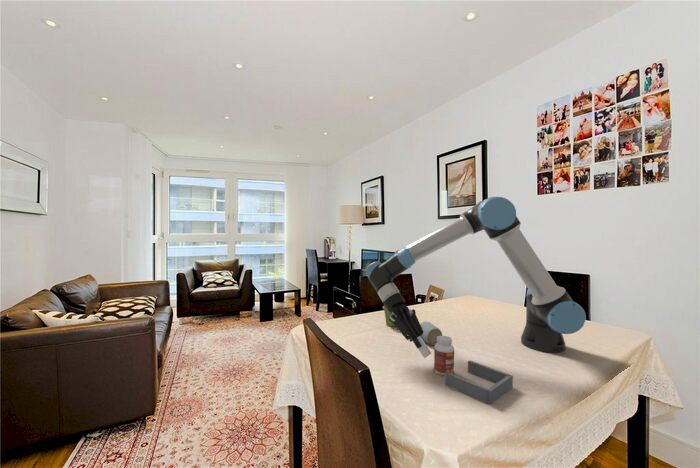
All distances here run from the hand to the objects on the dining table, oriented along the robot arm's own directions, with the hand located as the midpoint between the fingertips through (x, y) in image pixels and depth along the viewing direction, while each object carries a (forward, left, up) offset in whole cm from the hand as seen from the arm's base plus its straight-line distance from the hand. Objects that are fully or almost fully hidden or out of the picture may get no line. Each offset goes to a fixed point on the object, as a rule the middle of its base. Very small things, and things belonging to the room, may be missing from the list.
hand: (427, 355), depth 105 cm
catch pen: (-15, +8, -3) cm, 18 cm away
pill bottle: (-5, +3, -4) cm, 7 cm away
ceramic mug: (0, -23, -4) cm, 24 cm away
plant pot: (+21, -39, -4) cm, 45 cm away
